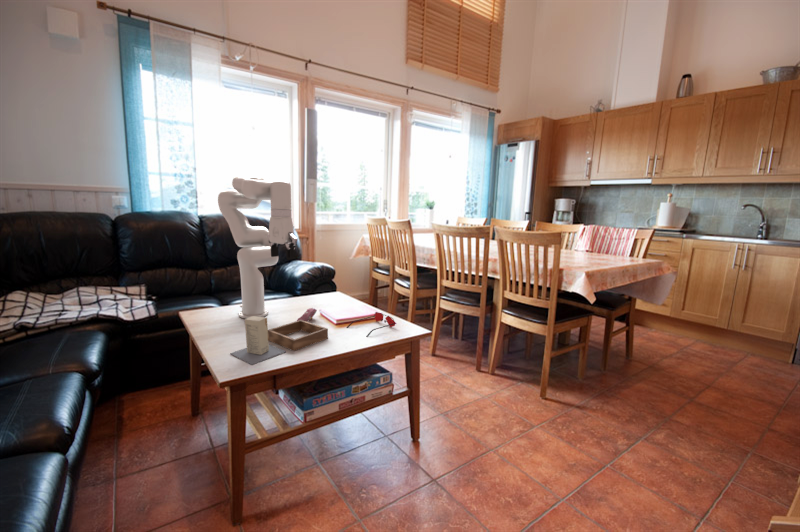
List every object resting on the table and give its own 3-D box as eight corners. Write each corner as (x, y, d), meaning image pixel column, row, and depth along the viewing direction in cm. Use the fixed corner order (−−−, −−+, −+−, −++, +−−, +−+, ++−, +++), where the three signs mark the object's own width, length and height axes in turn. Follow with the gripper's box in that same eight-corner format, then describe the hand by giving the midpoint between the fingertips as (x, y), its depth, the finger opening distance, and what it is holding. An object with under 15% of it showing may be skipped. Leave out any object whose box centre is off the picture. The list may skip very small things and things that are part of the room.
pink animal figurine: (304, 328, 156) (310, 314, 155) (295, 322, 157) (301, 309, 155) (313, 321, 166) (319, 308, 164) (305, 315, 166) (311, 303, 165)
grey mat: (230, 354, 125) (230, 353, 125) (263, 343, 135) (263, 342, 135) (252, 365, 117) (252, 363, 117) (285, 352, 128) (285, 351, 128)
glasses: (396, 329, 156) (397, 317, 155) (366, 338, 144) (366, 326, 143) (375, 320, 166) (376, 310, 165) (346, 328, 154) (346, 317, 153)
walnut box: (267, 340, 138) (267, 330, 137) (301, 328, 151) (300, 319, 150) (294, 351, 129) (294, 340, 128) (327, 338, 142) (327, 328, 141)
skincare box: (269, 350, 128) (268, 317, 125) (260, 355, 124) (259, 321, 121) (254, 347, 130) (253, 315, 128) (245, 352, 126) (244, 318, 124)
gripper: (259, 213, 141) (261, 256, 144) (287, 215, 131) (288, 261, 134) (275, 212, 147) (277, 254, 150) (303, 214, 137) (304, 259, 140)
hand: (282, 257), depth 142 cm, fingers open, 9 cm apart
